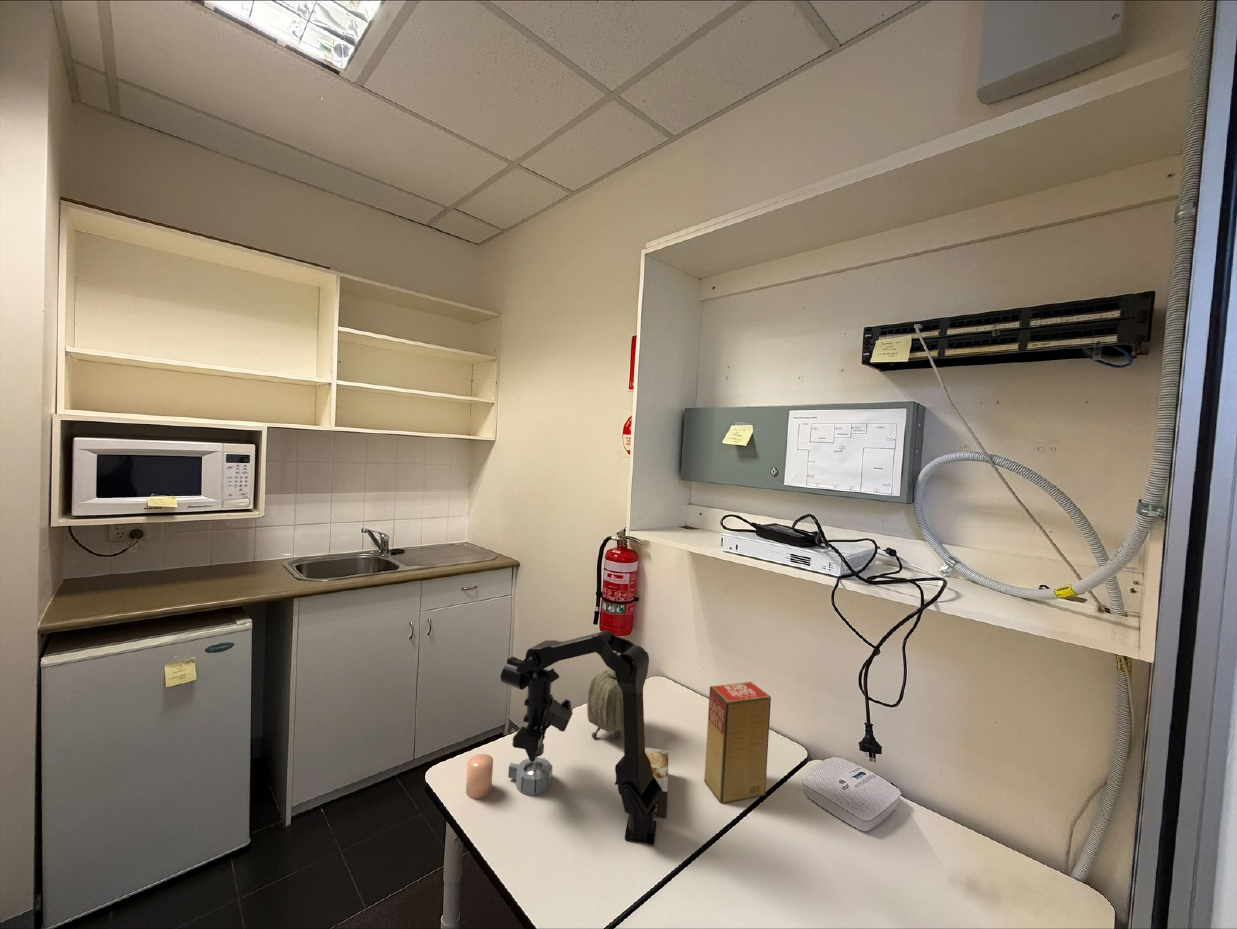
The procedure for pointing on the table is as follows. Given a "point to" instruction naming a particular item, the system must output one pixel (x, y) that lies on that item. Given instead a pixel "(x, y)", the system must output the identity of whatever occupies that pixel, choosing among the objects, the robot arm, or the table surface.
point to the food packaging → (737, 741)
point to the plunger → (535, 768)
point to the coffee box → (660, 777)
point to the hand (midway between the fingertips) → (535, 755)
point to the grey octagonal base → (531, 777)
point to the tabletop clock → (605, 703)
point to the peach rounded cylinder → (479, 776)
